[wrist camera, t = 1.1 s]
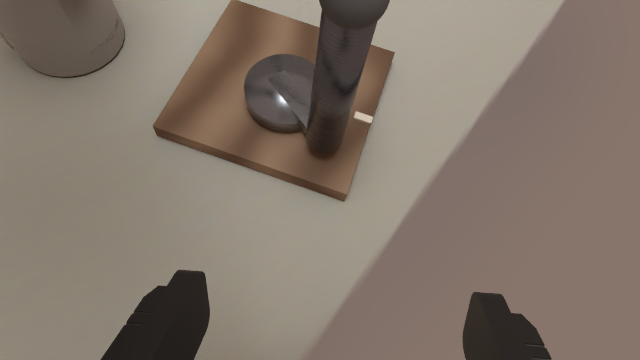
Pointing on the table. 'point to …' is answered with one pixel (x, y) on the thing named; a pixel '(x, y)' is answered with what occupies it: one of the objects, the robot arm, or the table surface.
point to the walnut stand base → (234, 117)
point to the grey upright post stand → (317, 76)
